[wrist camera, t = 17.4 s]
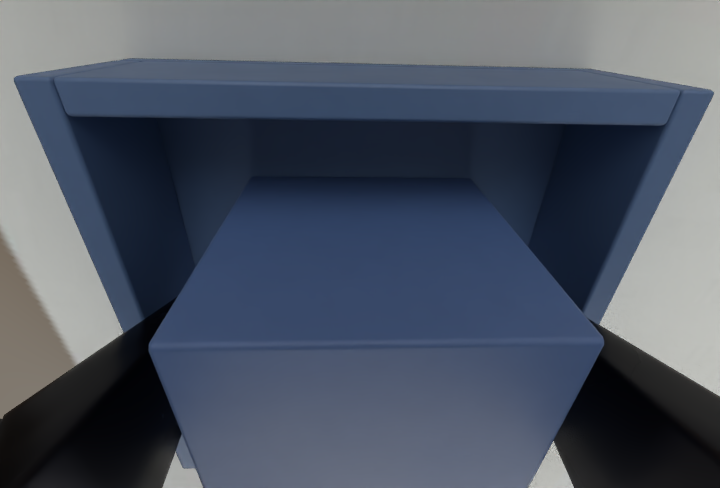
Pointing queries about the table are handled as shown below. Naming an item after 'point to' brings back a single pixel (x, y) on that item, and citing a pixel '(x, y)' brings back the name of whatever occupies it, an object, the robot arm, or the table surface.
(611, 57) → the table surface
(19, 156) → the table surface
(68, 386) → the robot arm
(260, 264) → the blue block
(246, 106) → the blue tray
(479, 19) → the table surface
